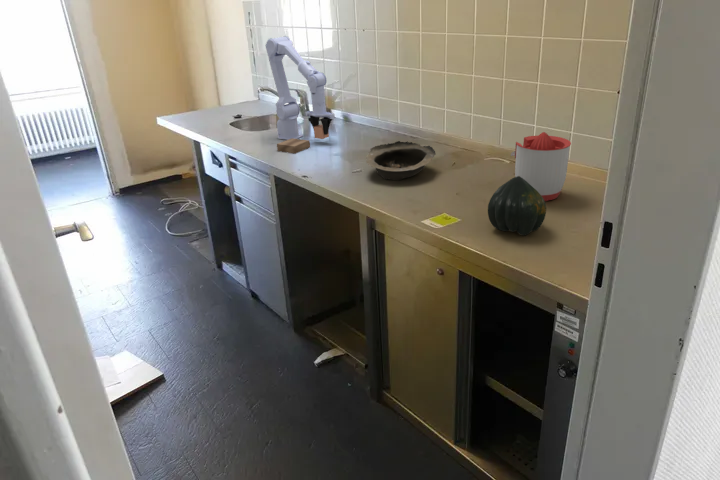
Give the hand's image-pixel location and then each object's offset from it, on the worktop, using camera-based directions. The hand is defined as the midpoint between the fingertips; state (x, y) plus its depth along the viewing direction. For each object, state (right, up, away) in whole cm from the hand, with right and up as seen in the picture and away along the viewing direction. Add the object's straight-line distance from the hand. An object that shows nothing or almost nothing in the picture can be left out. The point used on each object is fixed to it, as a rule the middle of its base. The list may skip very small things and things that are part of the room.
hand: (321, 133), depth 237 cm
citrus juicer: (+72, -33, -68) cm, 105 cm away
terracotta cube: (0, -1, +1) cm, 2 cm away
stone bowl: (+32, -23, -42) cm, 58 cm away
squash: (+59, -44, -90) cm, 116 cm away
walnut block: (-12, -8, -4) cm, 14 cm away
